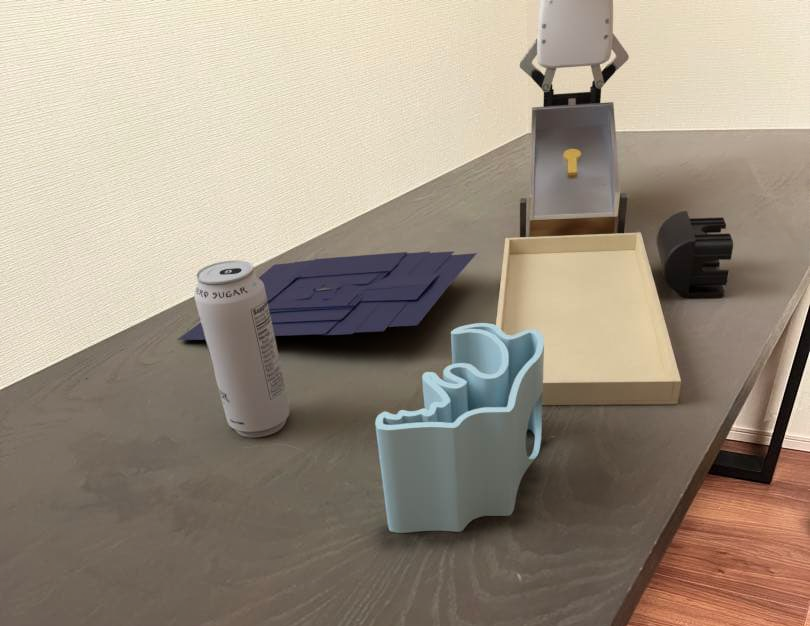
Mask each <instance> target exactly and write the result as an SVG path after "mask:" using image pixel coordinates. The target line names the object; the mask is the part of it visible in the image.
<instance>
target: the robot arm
mask: <svg viewBox="0 0 810 626" xmlns="http://www.w3.org/2000/svg"><path fill="white" fill-rule="evenodd" d="M536 31H537V33H536V39H535V40H534V42H533V43H532V44H531V46H530V47H529V49H528V50H527V52H526V53H525V54H524V56H523V57H522V58H521V60H520V61H519V68H520V69H521V70H522V71H523V72H524V73H525V74H527V76H529V77H530V78H531V79H532V80H533V81H534V83H536V85H537V86H538V87H539V88H540V89H541V90H542V92H543V103H542V104H543V106H542V107H547V106H553V101H554V94H555V92H554V91H555V90H554V88H553V81H554V78H555V75H556V71H557V69H562V68H577V67H589V66H590V69H591V73H592V78H593V80H592V83H591V86H590V87H589V88H590V89H589V92H591V98H590V104H592V103H601V99H602V88H603V87H604V86H605V85H606V83H607V82H608V81H609V80H610V79H611V78H612V77H613V76H614V74H615V73H616V72H617V71H618V70H619V69H620V68H621V67H622V66H623V65H625V64H626V63H627V61H628V60H629V59H630V58H629V57H630V55H629V53H628V52H627V50H626V49H625V47H624V46H623V45H622V43H621V42H620V40H619V39H618V37H617V36H616V35H615V34H614V0H539V4H538V17H537V30H536ZM612 52H613V53H614V54H615V56H614V58H613V59H612V60H611V61H610V62H609V60H610V58H611V56H612ZM536 57H537V58H536ZM535 58H536V59H537V64H538V66H540V67H542V68H545V72H544V73H542V71H541V70H540V69H539V68H537V67H536V65H534V64H533V61H534V59H535ZM607 62H608V64H607V65H606V66H605V67H604V68H603V69H602V68H601V65H603V64H605V63H607Z"/></svg>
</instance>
